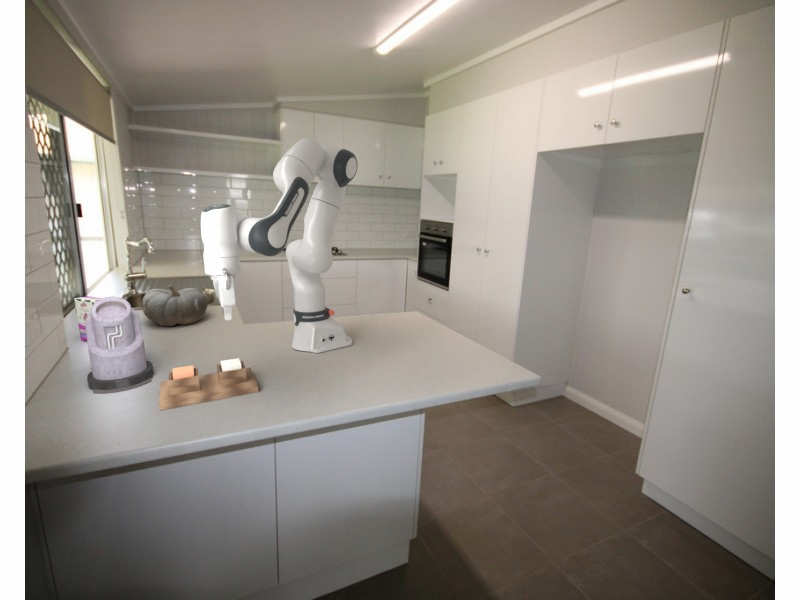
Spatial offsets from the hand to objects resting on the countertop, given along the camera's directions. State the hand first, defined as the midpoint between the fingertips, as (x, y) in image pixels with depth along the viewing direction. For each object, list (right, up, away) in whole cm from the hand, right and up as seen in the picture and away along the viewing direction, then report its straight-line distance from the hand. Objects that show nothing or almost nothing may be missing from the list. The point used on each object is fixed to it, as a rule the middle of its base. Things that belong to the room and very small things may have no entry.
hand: (226, 315), depth 111 cm
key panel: (-6, -21, +2) cm, 22 cm away
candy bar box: (-66, -11, +40) cm, 78 cm away
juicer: (-38, -18, +12) cm, 44 cm away
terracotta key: (-11, -18, -2) cm, 21 cm away
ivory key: (0, -16, +4) cm, 17 cm away
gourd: (-50, -5, +65) cm, 82 cm away
